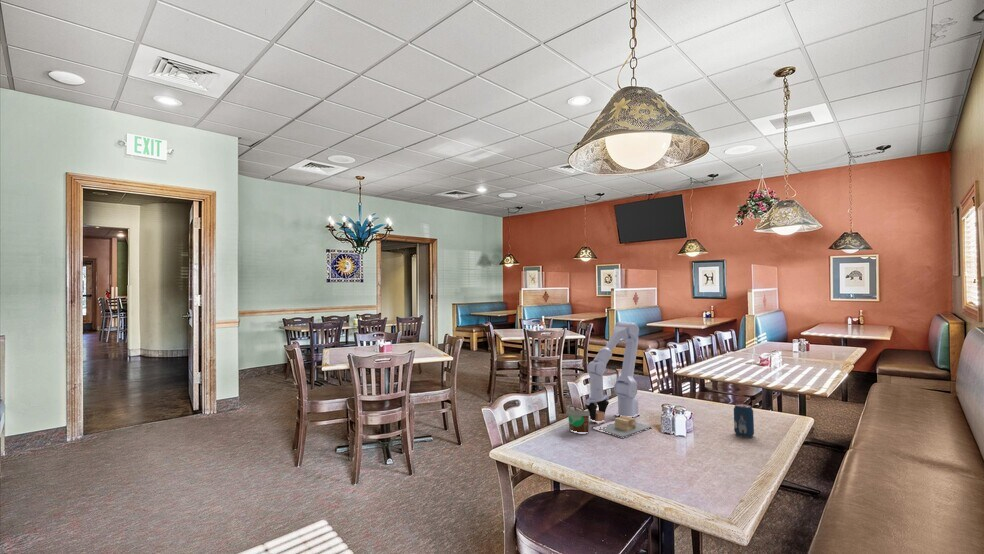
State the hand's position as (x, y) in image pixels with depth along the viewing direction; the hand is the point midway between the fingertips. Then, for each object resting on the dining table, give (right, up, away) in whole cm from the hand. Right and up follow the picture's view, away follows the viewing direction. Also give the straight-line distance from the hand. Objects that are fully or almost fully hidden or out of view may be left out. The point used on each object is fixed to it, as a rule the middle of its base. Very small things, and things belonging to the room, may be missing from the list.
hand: (597, 418), depth 200 cm
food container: (-13, -2, -13) cm, 18 cm away
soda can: (+54, 0, -22) cm, 58 cm away
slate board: (+8, -1, -10) cm, 13 cm away
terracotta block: (0, -2, 0) cm, 2 cm away
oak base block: (+9, -1, -12) cm, 15 cm away
